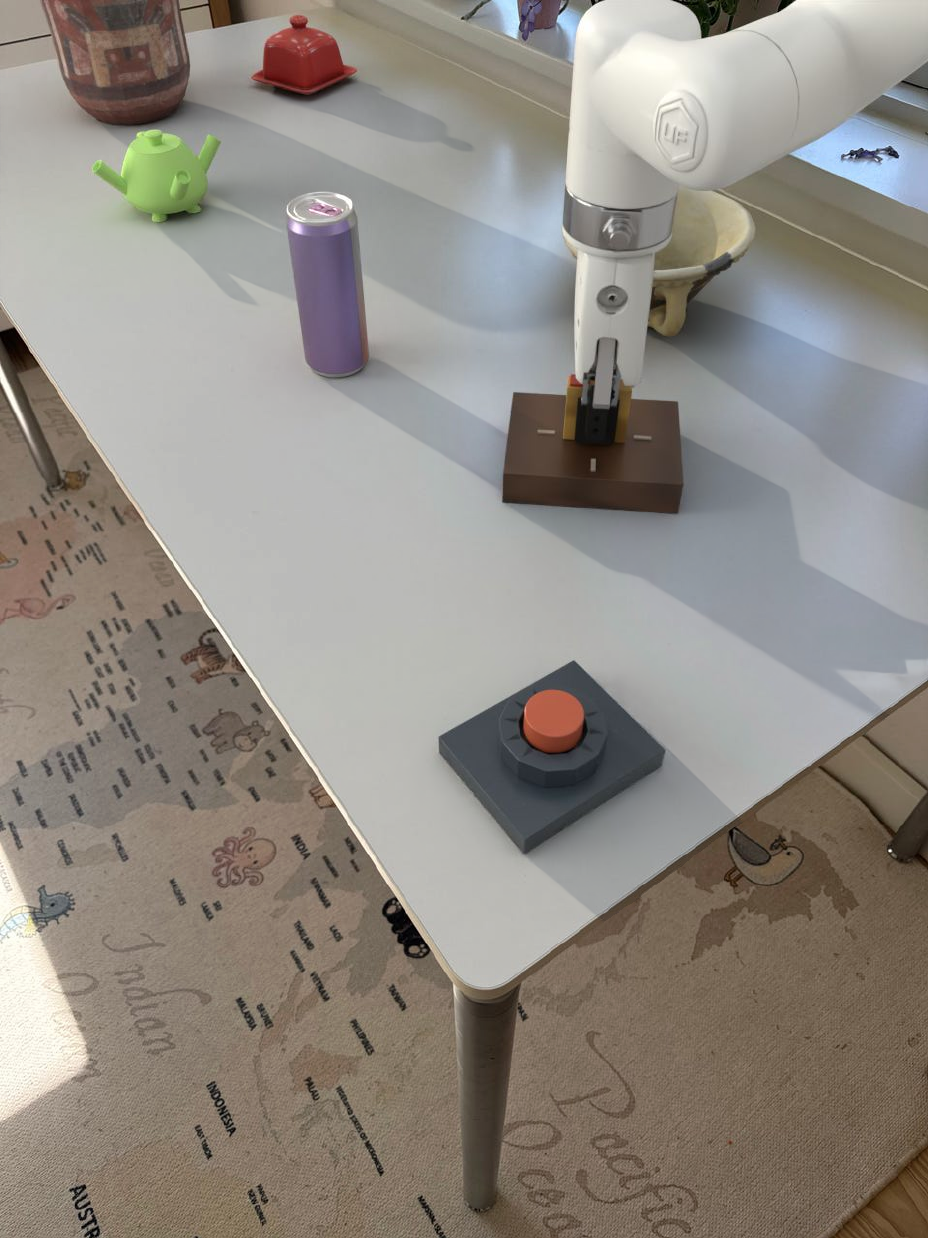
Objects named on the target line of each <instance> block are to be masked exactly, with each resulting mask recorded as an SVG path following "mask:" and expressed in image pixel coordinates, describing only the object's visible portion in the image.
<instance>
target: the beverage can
mask: <svg viewBox="0 0 928 1238" xmlns="http://www.w3.org/2000/svg"><path fill="white" fill-rule="evenodd" d="M286 214H287V215H286V219H285V225H286V232H287V239H288V248H289V253H290V260H291V267H292V274H293V275H292V276H293V282H294V289H295V297H296V303H297V310H298V318H299V323H300V331H301V332H300V333H301V338H302V345H303V353H304V360H305V363H306V364H307V365H308V367H309V369H311V370H312V371H313V372H314V373H316V374H318V375H320V376H322V377H326V378H332V379H333V378H337V379H338V378H345V377H348V376H352V375H354V374H356V373H358V372H359V371H360V370H362V369H363V368H364V366H365V365H366V363H367V362H368V359H369V357H370V349H369V339H368V337H369V336H368V326H367V325H368V324H367V315H366V314H367V313H366V304H365V303H366V302H365V292H364V280H363V270H362V269H363V268H362V256H361V246H360V245H361V244H360V233H359V223H358V222H359V221H358V215H357V212H356V211H355V204H354V202H353V200H352V199H351V198H350V197H349V196H347V195H344V194H342V193H339V192H335V191H314V192H308V193H304V194H301V195H299V196H297V197H295V198H293V199H291V200H290V201H289V203H288V204H287V205H286Z"/></svg>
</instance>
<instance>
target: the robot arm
mask: <svg viewBox="0 0 928 1238" xmlns="http://www.w3.org/2000/svg"><path fill="white" fill-rule="evenodd" d="M701 29H702V28H701V24H700V22H699V20H698V18H697V16H696V14H695V13H694V12H693V11H692V10H691V9H690V8H689V7H687V6H686V5H684V4H682V3H680V2H677V1H674V0H601V1H599V2H597V3H595V4H594V5H592V6H591V7H590V8H588V9H587V10H586V11H585V12H584V14H583V15H582V17H581V18H580V21H579V23H578V25H577V28H576V32H575V39H574V40H575V41H574V53H573V67H572V81H571V96H570V108H569V109H570V110H569V126H568V138H567V141H568V142H567V153H566V156H567V157H566V167H565V168H566V169H565V184H564V196H563V197H564V198H563V211H562V222H563V224H562V223H561V234H562V233H563V235H562V237H563V236H564V238H565V239H566V240H567V242H568V243H570V244H571V245H572V246H574V247H575V248H577V249H578V257H577V259H576V270H575V272H576V273H575V288H574V289H575V290H574V314H573V315H574V319H573V321H574V326H573V327H574V329H573V332H574V333H573V335H574V336H573V337H574V339H573V340H574V366H575V367H574V370H575V375H576V379H577V380H578V381H579V382H580V383H581V384H583V387H582V398H578V404H577V415H576V426H575V438H574V440H575V442H577V443H583V444H600V445H612V444H613V443H614V442H615V435H616V427H617V419H618V411H619V404H620V400H618V393H619V386H620V379H622V380H623V383H624V385H625V386H632V388H637V387H638V386H639V385H640V384H641V382H642V377H643V367H644V359H645V349H646V341H647V332H648V327H647V326H648V318H649V310H650V302H651V293H652V284H653V273H654V259H655V252H658V251H660V250H661V249H663V248H664V247H665V246H667V244H668V243H669V242H670V240H671V237H672V231H673V224H674V217H675V211H676V204H677V198H678V191H679V185H681V186H683V187H686V188H688V189H692V190H698V191H717V190H720V189H724V188H726V187H730V186H731V185H734V184H735V183H737V182H739V181H741V180H743V179H745V178H747V177H748V176H751V175H753V174H755V173H756V172H759V171H761V170H763V169H764V168H767V167H768V166H769V165H771V164H772V163H775V162H777V161H778V160H780V159H782V158H784V157H785V156H787V155H790V154H792V153H793V152H795V151H797V150H800V149H802V148H804V147H806V146H808V145H810V144H812V143H814V142H816V141H818V140H819V139H821V138H823V137H824V136H826V135H828V134H829V133H831V132H832V131H834V130H835V129H837V128H838V127H840V126H842V125H843V124H845V122H847V121H849V120H850V119H851V118H853V117H854V116H855V115H857V114H858V113H860V112H861V111H862V110H864V109H865V108H866V107H868V106H869V105H870V104H872V103H873V102H874V101H876V100H877V99H879V98H880V97H882V96H883V95H884V94H886V93H887V92H888V91H890V90H891V89H893V88H894V87H895V86H896V85H898V84H899V83H900V82H902V81H904V80H905V79H907V77H909V76H911V74H913V73H914V72H916V71H917V70H918V69H919V68H921V67H922V66H924V65H925V64H927V63H928V0H794V1H792V3H790V4H789V5H787V6H786V7H785V8H783V9H781V10H780V11H779V12H776V13H772V14H770V15H767V16H765V17H761V18H760V19H757V20H754V21H752V22H750V23H747V24H745V25H742V26H740V27H738V28H735V29H732V30H729V31H727V32H725V33H722V34H716V35H712V36H708V37H704V38H702V30H701ZM564 238H563V239H564ZM590 380H591V381H595V385H591V386H590Z"/></svg>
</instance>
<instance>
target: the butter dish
mask: <svg viewBox="0 0 928 1238" xmlns="http://www.w3.org/2000/svg"><path fill="white" fill-rule="evenodd" d="M288 21H289V24H290V25H291V26H290V27H287V28H284V29H281V30H279V31H277V32H275V33H273V34H272V35H271V36H269V37H268V38H267V39H266V41H265V42H264V45H263V54H262V55H263V56H262V69H261V70H259V71H256V72H255V73H253V74H252V75H251V76H250V79H251V80H253V81H255V82H259V83H263V84H267V85H269V86H272V87H275V88H279V89H282V90H287V91H290V92H294V93H297V94H301V95H306V96H310V95H313V94H315V93H317V92H319V91H321V90H323V89H325V88H327V87H330V86H331V85H334V84H336V83H338V82H340V81H342V80H344V79H346V78H348V77H350V76H352V75H354V74H356V73H357V72H358V68H355V67H354V66H350V65H347V64H344V62H343V59H342V58H343V57H342V54H341V51H340V48H339V44H338V42H337V40H336V39H335V37H333V36H332V35H331V34H329V33H327V32H325V31H323V30H320V29H317V28H314V27H310V26H309V27H308V26H307V25H308V22H309V20H308V18H307V17H306V16H305V15H301V14H294V15H292V16H290V18H289V19H288Z"/></svg>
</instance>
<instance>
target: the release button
mask: <svg viewBox="0 0 928 1238" xmlns="http://www.w3.org/2000/svg"><path fill="white" fill-rule="evenodd" d="M583 722H584V710H583V707H582V705H581V704H580V702H579V701H578V700H577V699H576V698H575V697H574V696H572V695H571V694H569V693H567V692H564V691H560V690H545V691H542V692H539V693H537V694H535V695H534V696H533V697H531V698H530V699H529V701H528V702H527V704H526V706H525V711H524V726H523V730H524V734H525V737H526V739H527V740H528V742H529V743H530V744H531V745H532V746H534V747H535V748H537V749H538V750H540V751H543V752H547V753H562V752H565V751H568V750H570V749H571V748H573V747H574V746H575V745H576V744H577V743H578V742H579V740H580V738H581V735H582V729H583Z"/></svg>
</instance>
